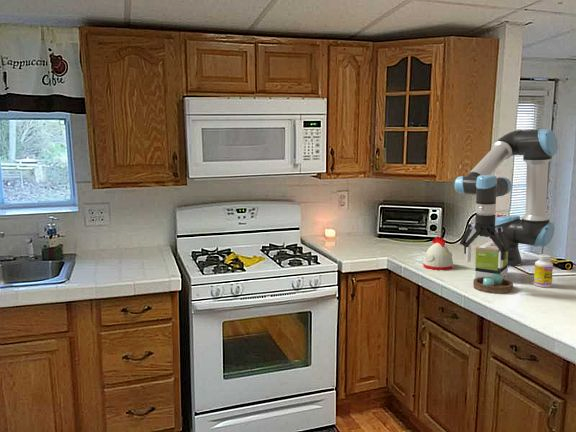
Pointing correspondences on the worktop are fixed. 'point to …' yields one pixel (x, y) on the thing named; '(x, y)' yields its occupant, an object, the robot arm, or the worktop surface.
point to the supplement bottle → (543, 271)
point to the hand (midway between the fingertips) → (483, 264)
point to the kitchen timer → (438, 256)
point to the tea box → (489, 261)
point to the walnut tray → (504, 288)
